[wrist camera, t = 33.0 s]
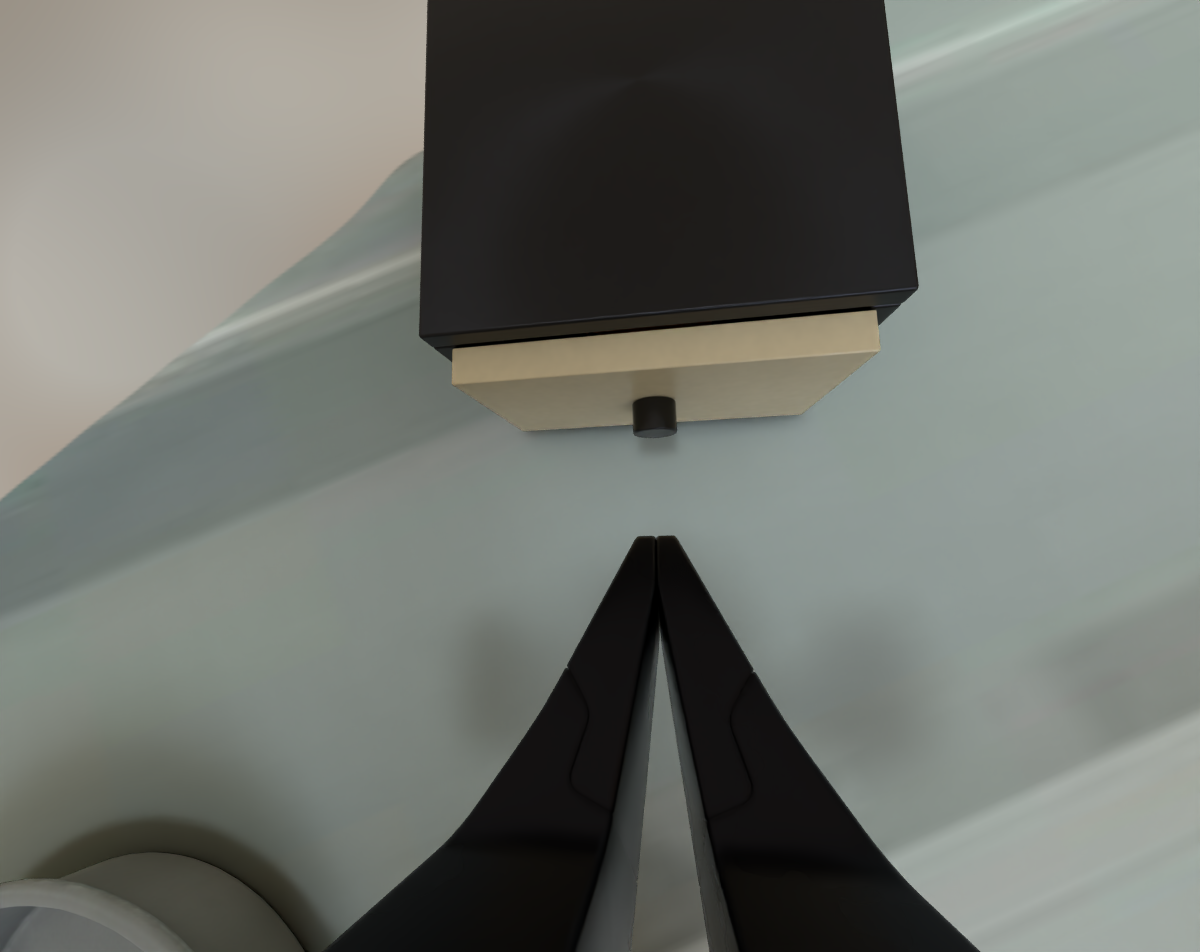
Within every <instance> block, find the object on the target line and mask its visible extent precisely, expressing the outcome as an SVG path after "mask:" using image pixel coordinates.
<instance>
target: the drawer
mask: <svg viewBox="0 0 1200 952" xmlns="http://www.w3.org/2000/svg"><path fill="white" fill-rule="evenodd" d="M812 313H813V312H804V313H793V314H782V315H772V316H761V317H750V318H739V319H729V320H724V322H723V324H716V325H705V326H694V327H683V328H673V329H662V330H651V331H640V332H629V333H618V334H607V335H596V336H586V337H584V335H583V333H578V334H568V335H557V336H546V337H535V338H525V339H514V340H503V341H504V342H505V343H506V344H498V345H488V346H477V347H466V348H455V349H453V350H452V385H454V386H455V387H457V388H458V389H460V390H461V391H463V392H464V393H466V394H467V395H469V396H470V397H472V398H473V399H475V400H476V401H478V402H479V403H481V404H482V405H484V406H485V407H487V408H488V409H490V410H491V411H493V412H494V413H496V414H497V415H499V416H501V417H502V418H504V419H505V420H507V421H508V422H510V423H511V424H513V425H514V426H516V427H517V428H519V429H520V430H522V431H536V430H552V429H569V428H585V427H602V426H618V425H633V434H634V435H635V436H637V437H642V438H661V437H667V436H671V435H674V434H675V433H676V432H677V422H684V421H701V420H717V419H734V418H751V417H767V416H784V415H800V414H803V413H804V412H805V411H806V410H808V409H809V408H810V407H811V406H813V405H814V404H815V403H816V402H818V401H819V400H820V399H821V398H823V397H824V396H825V395H826V394H827V393H829V392H830V391H831V390H832V389H834V388H835V387H836V386H837V385H839V384H840V383H841V382H842V381H844V380H845V379H846V378H847V377H849V376H850V375H851V374H852V373H853V372H855V371H856V370H857V369H858V368H860V367H861V366H862V365H863V364H865V363H866V362H867V361H868V360H870V359H871V358H872V357H873V356H874V355H876V354H877V353H878V352H879V351H880V339H879V330H878V321H877V312H876V310H869V311H858V312H847V313H836V314H825V315H814V316H811V314H812Z"/></svg>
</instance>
